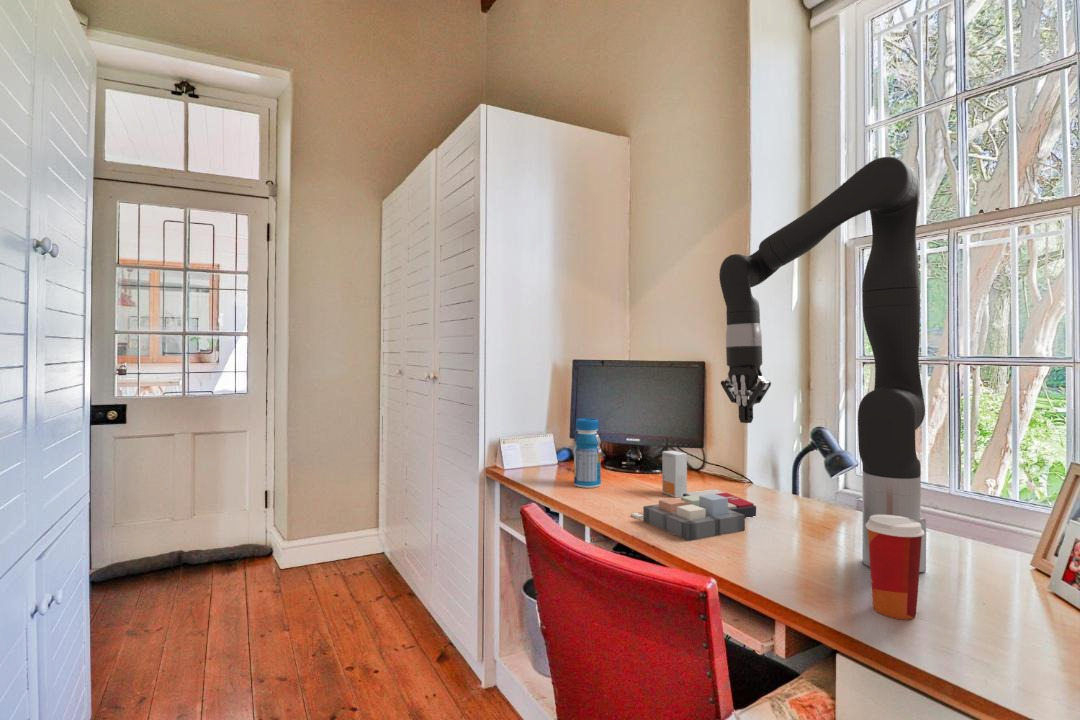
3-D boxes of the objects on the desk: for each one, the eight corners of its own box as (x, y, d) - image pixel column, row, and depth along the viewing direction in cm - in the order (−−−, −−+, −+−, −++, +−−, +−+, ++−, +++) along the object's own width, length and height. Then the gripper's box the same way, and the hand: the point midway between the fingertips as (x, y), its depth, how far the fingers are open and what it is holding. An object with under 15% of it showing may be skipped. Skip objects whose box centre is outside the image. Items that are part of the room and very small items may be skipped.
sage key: (707, 515, 135) (707, 498, 135) (693, 518, 133) (693, 501, 133) (695, 511, 139) (695, 494, 139) (680, 513, 137) (680, 496, 137)
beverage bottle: (583, 489, 167) (583, 421, 167) (568, 484, 174) (567, 418, 174) (607, 486, 171) (606, 419, 171) (591, 481, 178) (591, 417, 178)
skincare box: (661, 493, 163) (661, 451, 163) (673, 491, 164) (673, 450, 164) (675, 498, 157) (675, 454, 157) (687, 496, 159) (687, 453, 159)
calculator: (720, 508, 135) (682, 490, 149) (720, 525, 135) (681, 507, 149) (757, 503, 139) (716, 486, 153) (756, 520, 139) (715, 502, 153)
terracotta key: (686, 519, 132) (686, 502, 132) (670, 521, 130) (670, 504, 130) (673, 514, 136) (673, 497, 136) (658, 517, 134) (658, 500, 134)
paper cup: (901, 600, 92) (902, 513, 91) (936, 622, 84) (936, 527, 84) (854, 601, 91) (854, 513, 91) (884, 623, 84) (884, 528, 84)
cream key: (705, 527, 126) (705, 509, 126) (689, 529, 124) (689, 511, 124) (692, 521, 130) (692, 504, 130) (676, 524, 128) (676, 506, 128)
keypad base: (744, 530, 128) (744, 514, 128) (688, 540, 121) (688, 524, 121) (696, 512, 142) (696, 498, 142) (643, 521, 135) (643, 506, 135)
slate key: (727, 515, 129) (727, 498, 129) (712, 518, 127) (712, 500, 127) (714, 510, 133) (714, 493, 133) (699, 513, 131) (699, 495, 131)
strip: (690, 510, 144) (690, 507, 144) (638, 518, 137) (638, 515, 137) (683, 507, 147) (683, 505, 147) (631, 515, 140) (631, 512, 140)
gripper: (780, 343, 123) (782, 424, 123) (733, 346, 135) (736, 419, 135) (754, 343, 120) (757, 426, 120) (709, 346, 132) (711, 421, 132)
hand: (745, 422), depth 127 cm, fingers closed
